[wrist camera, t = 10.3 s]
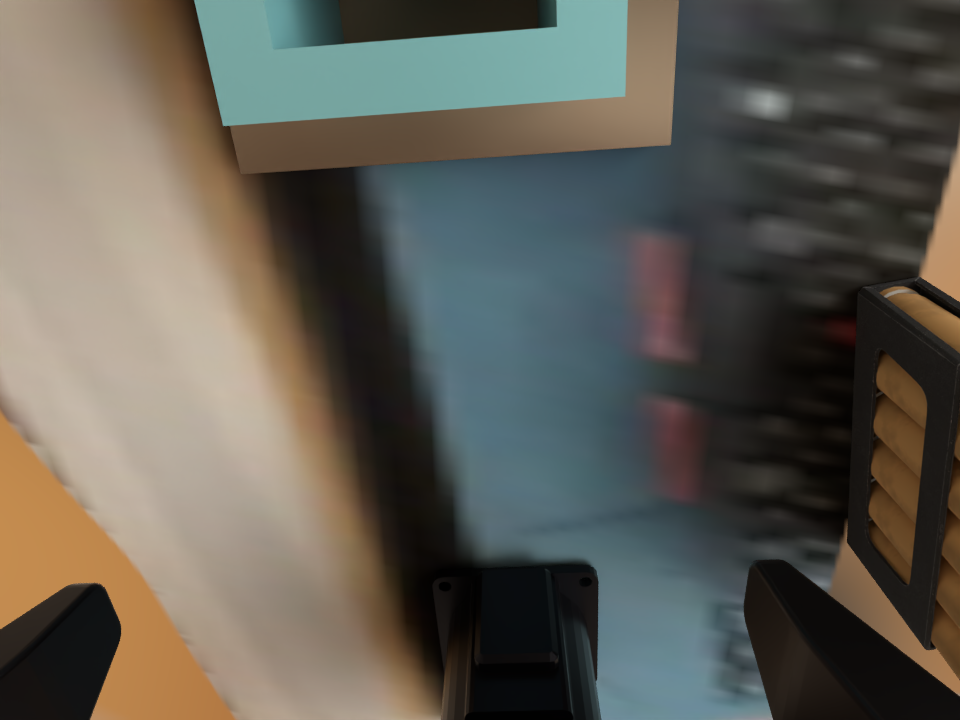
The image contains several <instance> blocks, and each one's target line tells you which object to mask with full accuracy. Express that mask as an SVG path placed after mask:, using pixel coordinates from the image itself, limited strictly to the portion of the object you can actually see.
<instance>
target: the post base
mask: <svg viewBox="0 0 960 720" xmlns="http://www.w3.org/2000/svg"><path fill="white" fill-rule="evenodd" d="M338 1H339V8H340V15H341V22H342V29H343V36H344V43H345V44H350V43H363V42H375V41H388V40H400V39H413V38H425V37H438V36H450V35H463V34H475V33H488V32H500V31H513V30H525V29H538V10H537V0H338ZM678 5H679V0H628V10H627V50H626V90H625V97H612V98H598V99H585V100H571V101H557V102H544V103H530V104H517V105H503V106H490V107H476V108H463V109H449V110H435V111H422V112H408V113H395V114H381V115H368V116H354V117H340V118H327V119H313V120H300V121H286V122H273V123H259V124H245V125H232V126H230V129H231V133H232V138H233V142H234V147H235V151H236V156H237V160H238V164H239V169H240V173H241V174H252V173H267V172H281V171H296V170H311V169H325V168H340V167H354V166H369V165H384V164H398V163H413V162H427V161H442V160H457V159H471V158H486V157H500V156H515V155H529V154H544V153H559V152H573V151H588V150H602V149H617V148H632V147H646V146H661V145H671V131H672V113H673V95H674V77H675V59H676V41H677V23H678Z"/></svg>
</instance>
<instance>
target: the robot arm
mask: <svg viewBox="0 0 960 720" xmlns="http://www.w3.org/2000/svg"><path fill="white" fill-rule="evenodd" d="M583 577H588V579H581V578H583ZM442 582H448V584H443V583H442ZM432 588H433V595H434V602H435V610H436V617H437V624H438V632H439V639H440V646H441V653H442V661H443V668H444V675H445V678H444V689H443V701H442V713H441V720H601V714H600V708H599V701H598V695H597V688H596V680H597V650H598V577H597V572H596V570H595V569H594V568H593V567H591V566H589V565H566V566H537V567H508V568H478V569H449V570H440V571H438V572H436V574H435V575H434V578H433V586H432ZM744 617H745V623H746V626H747V630H748V633H749V637H750V640H751V644H752V647H753V651H754V654H755V658H756V661H757V665H758V668H759V672H760V675H761V679H762V682H763V686H764V689H765V693H766V696H767V700H768V703H769V707H770V710H771V714H772V717H773V720H960V696H958V695H957V694H956V693H955V692H953V691H952V690H951V689H949V688H948V687H947V686H946V685H944V684H943V683H942V682H941V681H939V680H938V679H937V678H935V677H934V676H933V675H932V674H930V673H929V672H928V671H926V670H925V669H924V668H922V667H921V666H920V665H919V664H917V663H916V662H915V661H914V660H912V659H911V658H910V657H908V656H907V655H906V654H904V653H903V652H902V651H901V650H899V649H898V648H897V647H896V646H894V645H893V644H892V643H890V642H889V641H888V640H886V639H885V638H884V637H883V636H881V635H880V634H879V633H878V632H876V631H875V630H874V629H872V628H871V627H870V626H869V625H867V624H866V623H865V622H863V621H862V620H861V619H859V618H858V617H857V616H856V615H854V614H853V613H852V612H850V611H849V610H848V609H847V608H845V607H844V606H843V605H842V604H840V603H839V602H838V601H836V600H835V599H834V598H833V597H831V596H830V595H829V594H827V593H826V592H825V591H824V590H822V589H821V588H820V587H819V586H817V585H816V584H815V583H813V582H812V581H811V580H810V579H808V578H807V577H806V576H804V575H803V574H802V573H801V572H799V571H798V570H797V569H795V568H794V567H793V566H792V565H790V564H789V563H787V562H786V561H783V560H779V559H777V560H756V561H753V562H752V563H751V565H750V567H749V572H748V579H747V586H746V592H745V599H744ZM120 637H121V624H120V621H119V619H118V616H117V614H116V612H115V610H114V607H113V605H112V602H111V600H110V598H109V596H108V594H107V591H106V589H105V587H103V586H102V585H101V584H98V583H81V584H80V583H78V584H71V585H68V586H66V587H64V588H63V589H61V590H60V591H58V592H57V593H55V594H54V595H52V596H51V597H49V598H48V599H46V600H45V601H43V602H42V603H40V604H38V605H37V606H35V607H34V608H32V609H31V610H30V611H28V612H26V613H25V614H23V615H22V616H20V617H19V618H17V619H16V620H14V621H13V622H11V623H10V624H8V625H6V626H5V627H3V628H2V629H0V720H90V718H91V716H92V713H93V710H94V707H95V705H96V702H97V700H98V697H99V694H100V692H101V689H102V686H103V684H104V681H105V679H106V676H107V673H108V671H109V668H110V665H111V662H112V660H113V658H114V655H115V652H116V650H117V647H118V644H119V641H120Z"/></svg>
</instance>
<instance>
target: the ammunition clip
mask: <svg viewBox="0 0 960 720" xmlns="http://www.w3.org/2000/svg"><path fill="white" fill-rule="evenodd" d="M847 543H848V544H849V546H850V547H851V549H852V550H853V551H854V553H855V554H856V555H857V557H858V558H859V559H860V561H861V562H862V564H863V565H864V566H865V568H866V569H867V570H868V572H869V573H870V574H871V576H872V577H873V579H874V580H875V581H876V583H877V584H878V585H879V587H880V588H881V590H882V591H883V592H884V594H885V595H886V596H887V598H888V599H889V600H890V602H891V603H892V604H893V606H894V607H895V609H896V610H897V611H898V613H899V614H900V615H901V616H902V618H903V619H904V621H905V622H906V624H907V625H908V626H909V628H910V629H911V631H912V632H913V633H914V635H915V636H916V637H917V639H918V640H919V641H920V643H921V644H922V646H923V647H924V648H925V649H926V650H934V649H936V648H937V650H938V651H939V652H940V654H941V655H942V656H943V658H944V659H945V661H946V662H947V663H948V665H949V666H950V667H951V669H952V670H953V671H954V673H955V674H956V676H957V677H958V678H959V680H960V302H959V301H957V300H955V299H954V298H952V297H951V296H949V295H947V294H946V293H944V292H943V291H941V290H939V289H938V288H936V287H935V286H933V285H931V284H930V283H928V282H927V281H925V280H924V279H922V278H921V277H916V278H911V279H905V280H899V281H894V282H888V283H883V284H877V285H872V286H866V287H863V288H862V289H861V290H860V291H859V292H858V298H857V322H856V346H855V369H854V393H853V417H852V441H851V464H850V488H849V512H848V529H847Z"/></svg>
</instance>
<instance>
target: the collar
mask: <svg viewBox="0 0 960 720" xmlns="http://www.w3.org/2000/svg"><path fill="white" fill-rule="evenodd" d="M194 2H195V6H196V10H197V15H198V19H199V23H200V28H201V32H202V36H203V40H204V45H205V49H206V53H207V58H208V62H209V66H210V71H211V75H212V79H213V84H214V88H215V92H216V97H217V101H218V105H219V110H220V114H221V118H222V123H223V126H232V125H245V124H259V123H273V122H286V121H300V120H313V119H327V118H340V117H354V116H368V115H381V114H395V113H408V112H422V111H435V110H449V109H463V108H476V107H490V106H503V105H517V104H530V103H544V102H557V101H571V100H585V99H598V98H612V97H625V90H626V50H627V10H628V0H537V10H538V29H525V30H513V31H500V32H488V33H475V34H463V35H450V36H438V37H425V38H413V39H400V40H388V41H375V42H363V43H350V44H345V43H344V36H343V29H342V22H341V15H340V8H339V1H338V0H194Z"/></svg>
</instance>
